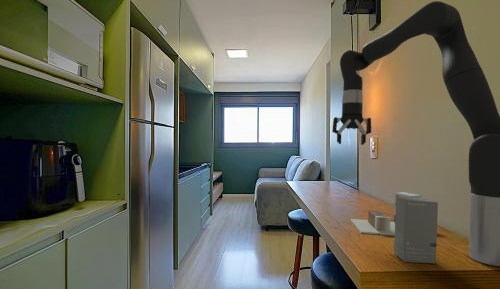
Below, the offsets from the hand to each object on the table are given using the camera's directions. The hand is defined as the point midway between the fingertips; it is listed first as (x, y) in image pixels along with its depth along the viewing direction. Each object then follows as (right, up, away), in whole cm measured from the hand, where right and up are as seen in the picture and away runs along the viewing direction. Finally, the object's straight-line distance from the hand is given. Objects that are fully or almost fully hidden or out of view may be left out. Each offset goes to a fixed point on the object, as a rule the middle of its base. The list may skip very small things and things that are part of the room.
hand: (351, 144), depth 117 cm
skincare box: (+4, -30, -38) cm, 49 cm away
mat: (+7, -30, -8) cm, 32 cm away
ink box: (+21, -31, -1) cm, 38 cm away
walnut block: (+8, -28, -3) cm, 29 cm away
